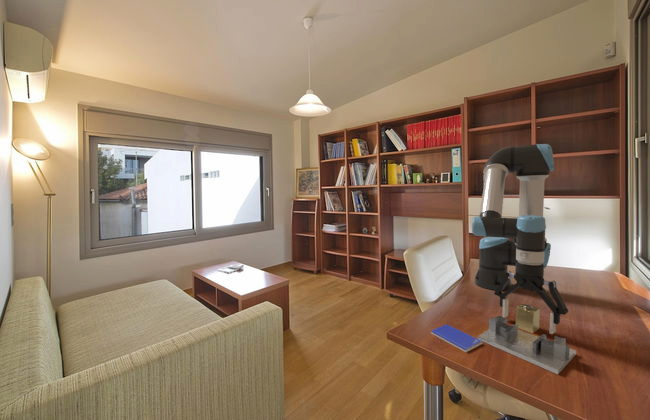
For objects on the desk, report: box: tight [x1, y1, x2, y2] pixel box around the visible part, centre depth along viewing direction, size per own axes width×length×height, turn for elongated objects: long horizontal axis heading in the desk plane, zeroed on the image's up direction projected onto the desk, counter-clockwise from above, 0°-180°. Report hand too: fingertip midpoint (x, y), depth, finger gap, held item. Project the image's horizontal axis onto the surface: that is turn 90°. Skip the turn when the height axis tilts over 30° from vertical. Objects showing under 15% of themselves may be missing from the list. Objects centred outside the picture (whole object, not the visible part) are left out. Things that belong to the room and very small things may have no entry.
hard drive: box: [430, 324, 483, 353], centre depth 88 cm, size 2×8×12 cm
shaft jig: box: [477, 315, 577, 375], centre depth 82 cm, size 20×14×5 cm
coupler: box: [515, 303, 541, 334], centre depth 92 cm, size 5×5×8 cm
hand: (527, 324), depth 92 cm, fingers open, 13 cm apart
